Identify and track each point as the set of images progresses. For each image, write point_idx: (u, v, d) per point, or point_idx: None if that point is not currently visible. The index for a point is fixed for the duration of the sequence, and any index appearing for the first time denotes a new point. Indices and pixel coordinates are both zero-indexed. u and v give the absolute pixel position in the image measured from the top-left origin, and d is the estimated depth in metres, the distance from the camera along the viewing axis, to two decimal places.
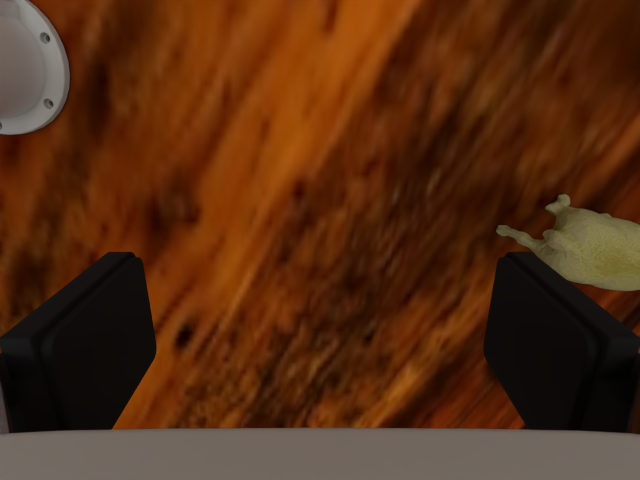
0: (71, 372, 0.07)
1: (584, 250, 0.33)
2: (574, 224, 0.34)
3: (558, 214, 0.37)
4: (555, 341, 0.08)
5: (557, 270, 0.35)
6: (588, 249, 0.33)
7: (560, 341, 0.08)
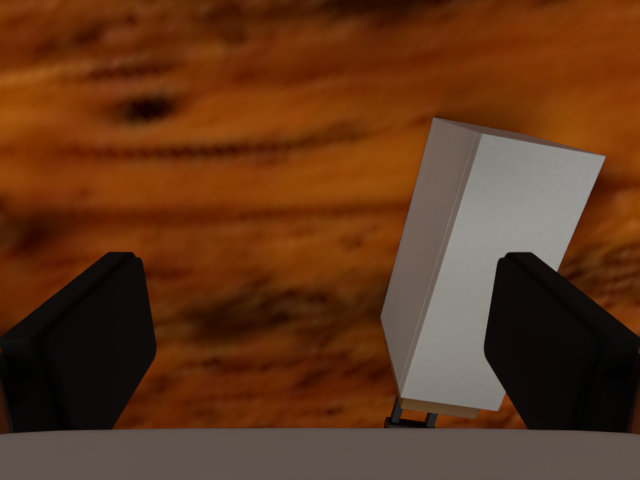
0: (71, 372, 0.07)
1: None
2: None
3: None
4: (555, 341, 0.08)
5: None
6: None
7: (560, 341, 0.08)
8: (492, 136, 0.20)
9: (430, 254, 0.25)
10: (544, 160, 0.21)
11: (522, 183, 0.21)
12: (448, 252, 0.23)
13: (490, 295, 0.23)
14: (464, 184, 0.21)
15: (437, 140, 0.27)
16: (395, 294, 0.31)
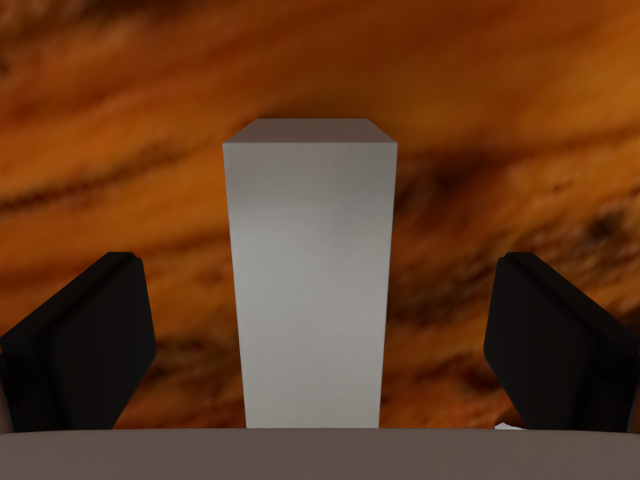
0: (71, 372, 0.07)
1: None
2: None
3: None
4: (555, 341, 0.08)
5: None
6: None
7: (560, 341, 0.08)
8: (237, 144, 0.15)
9: None
10: (317, 162, 0.15)
11: (299, 196, 0.16)
12: (239, 296, 0.17)
13: (312, 339, 0.18)
14: (228, 210, 0.16)
15: None
16: None
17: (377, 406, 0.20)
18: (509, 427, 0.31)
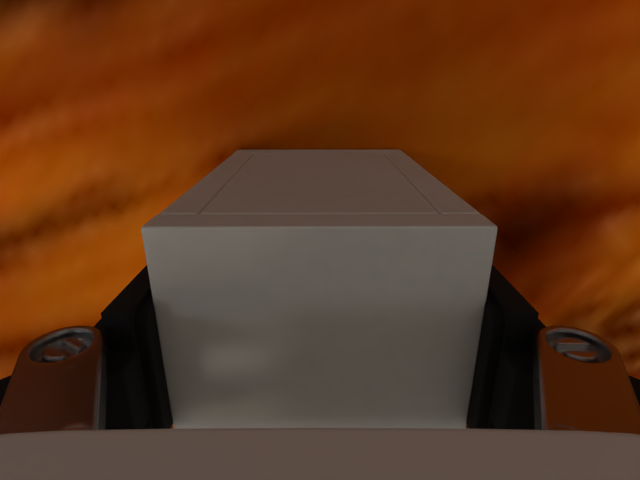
0: (157, 346, 0.08)
1: None
2: None
3: None
4: None
5: None
6: None
7: None
8: (171, 229, 0.07)
9: None
10: (333, 264, 0.08)
11: (297, 325, 0.08)
12: None
13: None
14: (163, 345, 0.09)
15: None
16: None
17: None
18: None
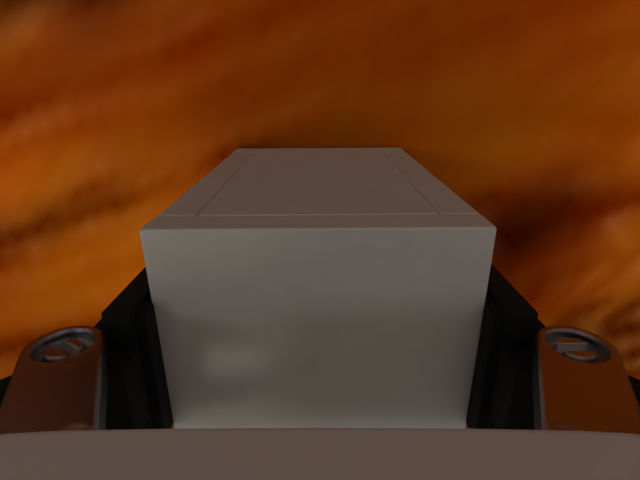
0: (157, 346, 0.08)
1: None
2: None
3: None
4: None
5: None
6: None
7: None
8: (169, 232, 0.07)
9: None
10: (331, 265, 0.08)
11: (297, 326, 0.08)
12: None
13: None
14: (163, 346, 0.09)
15: None
16: None
17: None
18: None
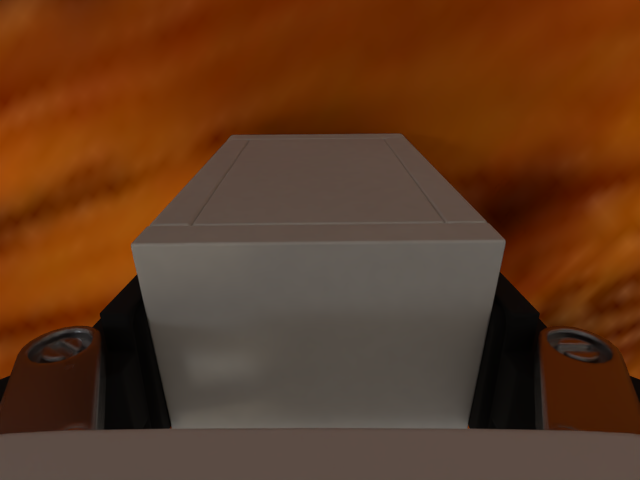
0: None
1: None
2: None
3: None
4: None
5: None
6: None
7: None
8: (162, 246, 0.07)
9: None
10: (333, 279, 0.07)
11: (297, 339, 0.08)
12: None
13: None
14: (159, 357, 0.08)
15: None
16: None
17: None
18: None
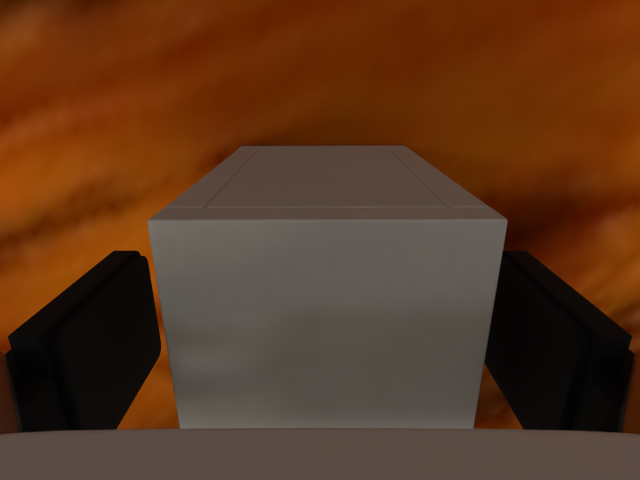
0: (79, 369, 0.07)
1: None
2: None
3: None
4: (547, 338, 0.08)
5: None
6: None
7: (552, 338, 0.08)
8: (177, 222, 0.07)
9: None
10: (341, 258, 0.08)
11: (305, 320, 0.08)
12: None
13: None
14: (169, 340, 0.08)
15: None
16: None
17: None
18: None
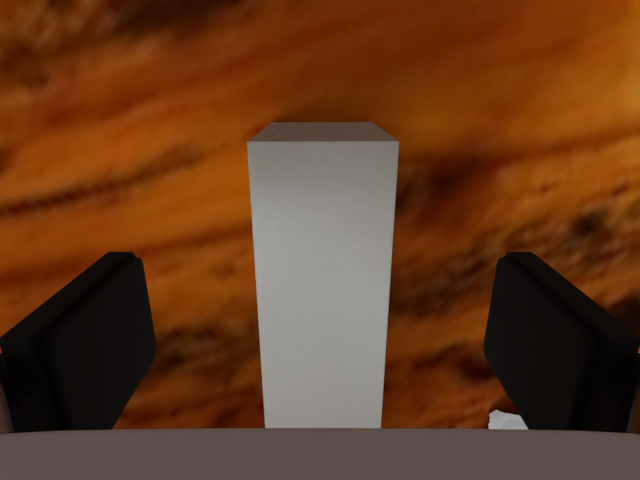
0: (71, 372, 0.07)
1: None
2: None
3: None
4: (555, 341, 0.08)
5: None
6: None
7: (560, 341, 0.08)
8: (259, 142, 0.17)
9: None
10: (329, 158, 0.18)
11: (313, 188, 0.18)
12: (259, 278, 0.20)
13: (323, 317, 0.20)
14: (251, 201, 0.19)
15: None
16: None
17: (381, 380, 0.22)
18: (502, 413, 0.33)
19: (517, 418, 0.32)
